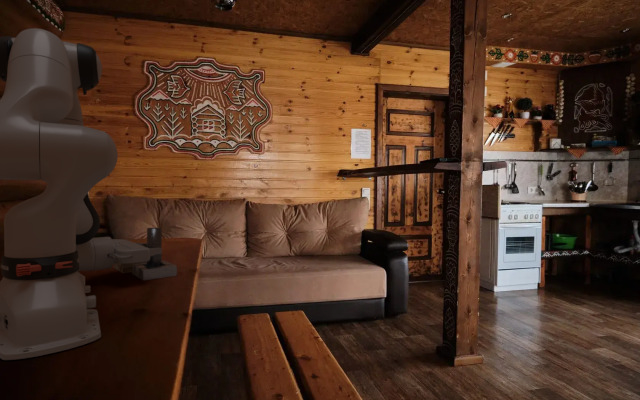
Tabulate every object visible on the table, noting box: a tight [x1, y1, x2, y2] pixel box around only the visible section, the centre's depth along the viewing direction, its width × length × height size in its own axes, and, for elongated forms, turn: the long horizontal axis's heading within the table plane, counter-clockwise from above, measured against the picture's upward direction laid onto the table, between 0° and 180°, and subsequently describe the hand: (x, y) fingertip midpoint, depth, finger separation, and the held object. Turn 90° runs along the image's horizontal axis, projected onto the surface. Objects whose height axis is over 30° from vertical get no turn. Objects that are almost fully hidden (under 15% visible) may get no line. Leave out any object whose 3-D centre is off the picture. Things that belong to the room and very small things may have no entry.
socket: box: [131, 259, 178, 282], centre depth 115 cm, size 10×10×3 cm
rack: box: [113, 262, 147, 274], centre depth 122 cm, size 9×9×4 cm
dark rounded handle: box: [146, 227, 163, 268], centre depth 115 cm, size 4×4×14 cm
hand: (154, 248), depth 115 cm, fingers open, 8 cm apart
